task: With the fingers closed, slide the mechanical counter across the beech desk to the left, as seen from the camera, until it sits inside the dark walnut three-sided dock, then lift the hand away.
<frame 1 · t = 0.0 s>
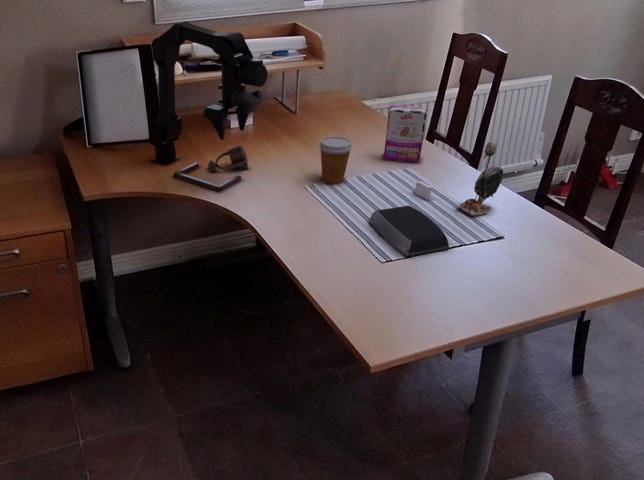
hand: (232, 134, 184), 15 cm above the table, tool pointing down, fingers open, 9 cm apart
hard drive: (407, 236, 160), on the table
mechanical counter: (229, 168, 201), on the table
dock: (207, 178, 194), on the table
eraser: (422, 196, 178), on the table
disposable coffee cup: (332, 180, 190), on the table
candy bar box: (401, 159, 202), on the table
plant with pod: (476, 209, 170), on the table
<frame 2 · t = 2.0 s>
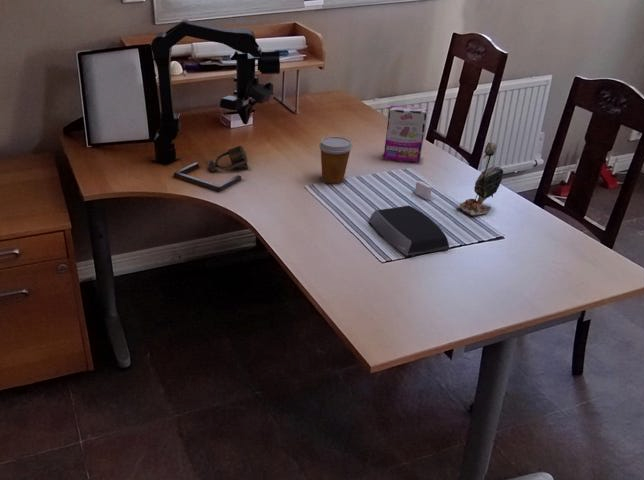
hand: (245, 124, 200), 12 cm above the table, tool pointing down, fingers closed
nothing on the table moved.
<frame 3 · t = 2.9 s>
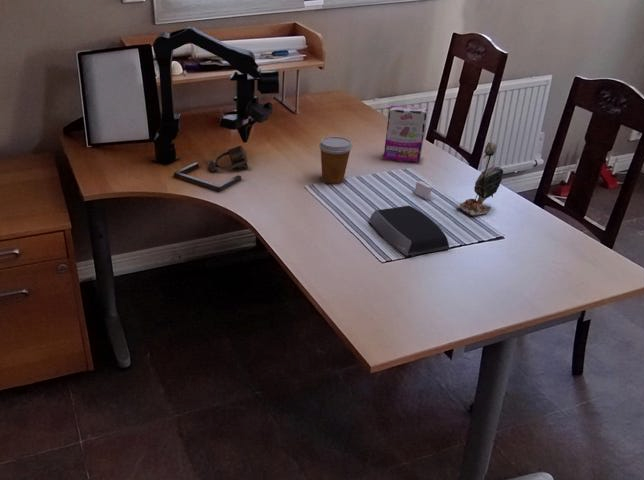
hand: (245, 142, 203), 6 cm above the table, tool pointing down, fingers closed
nothing on the table moved.
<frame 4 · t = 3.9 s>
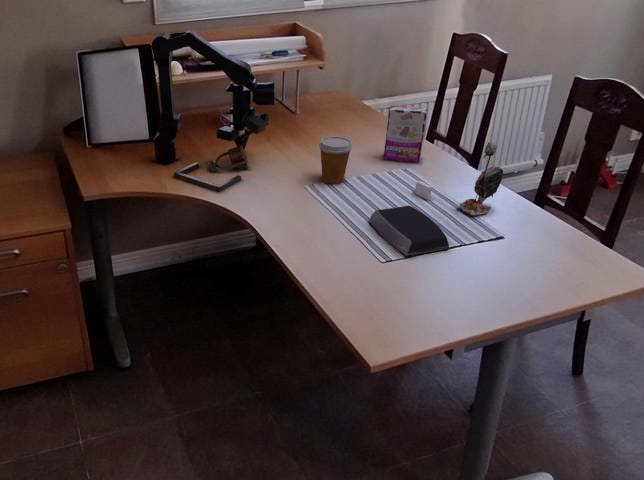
hand: (241, 152, 204), 3 cm above the table, tool pointing down, fingers closed
mechanical counter: (229, 168, 201), on the table, touching gripper
everything else where it was.
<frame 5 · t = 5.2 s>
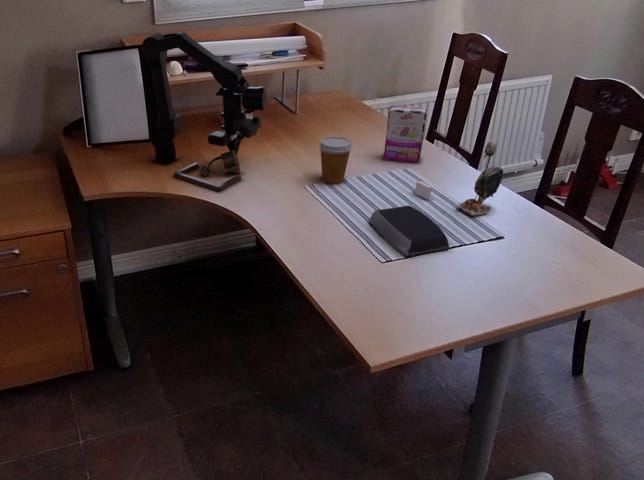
hand: (234, 157, 201), 3 cm above the table, tool pointing down, fingers closed
mechanical counter: (221, 173, 198), on the table, touching gripper
everything else where it was.
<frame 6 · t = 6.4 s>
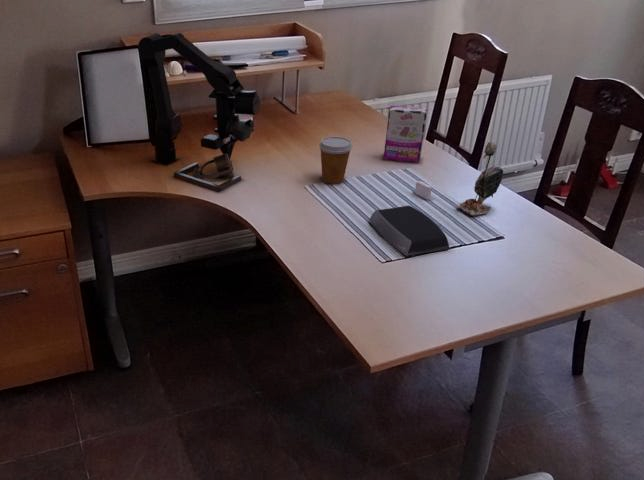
hand: (228, 160, 198), 3 cm above the table, tool pointing down, fingers closed
mechanical counter: (214, 176, 196), on the table, touching gripper
everything else where it was.
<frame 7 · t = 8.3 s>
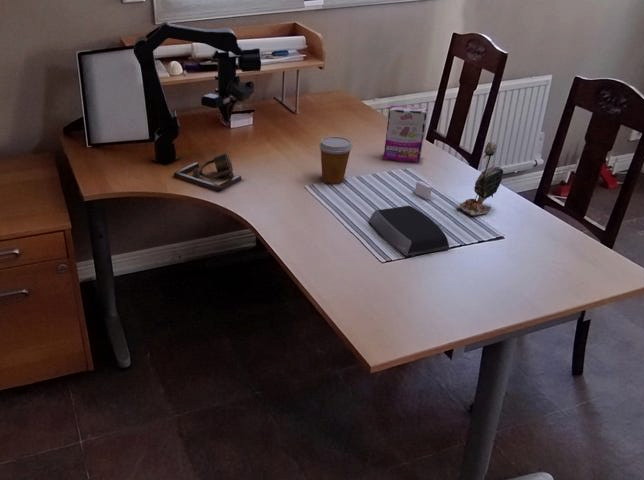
hand: (227, 121, 203), 12 cm above the table, tool pointing down, fingers closed
mechanical counter: (214, 176, 196), on the table
everything else where it was.
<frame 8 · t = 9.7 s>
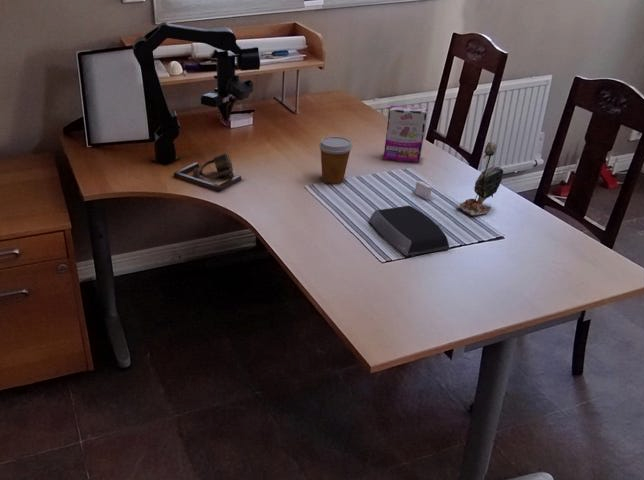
hand: (226, 120, 203), 12 cm above the table, tool pointing down, fingers closed
nothing on the table moved.
at the end: mechanical counter inside the target area (1.4 cm from its centre), on the table; mechanical counter moved 7.8 cm from its start; mechanical counter tilted 0° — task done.
